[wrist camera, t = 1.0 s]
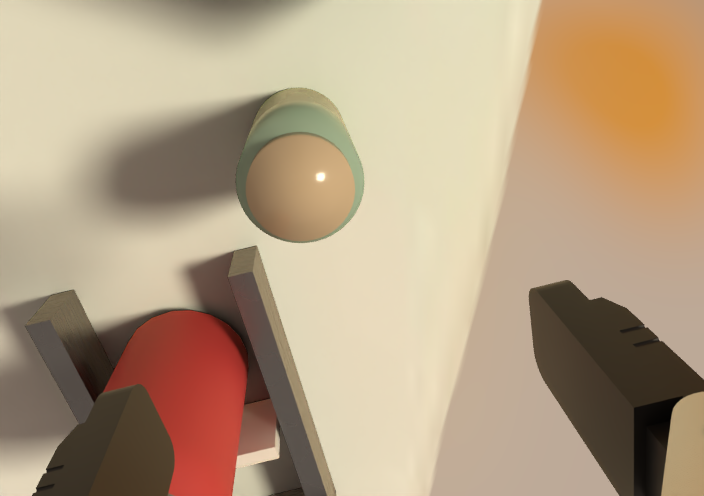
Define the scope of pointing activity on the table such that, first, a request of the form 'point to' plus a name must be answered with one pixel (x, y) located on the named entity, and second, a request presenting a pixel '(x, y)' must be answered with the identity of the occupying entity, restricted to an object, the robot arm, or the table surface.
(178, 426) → the beer can
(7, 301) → the table surface
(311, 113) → the jar
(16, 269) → the table surface
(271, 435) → the pusher
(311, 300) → the table surface
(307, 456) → the lane
